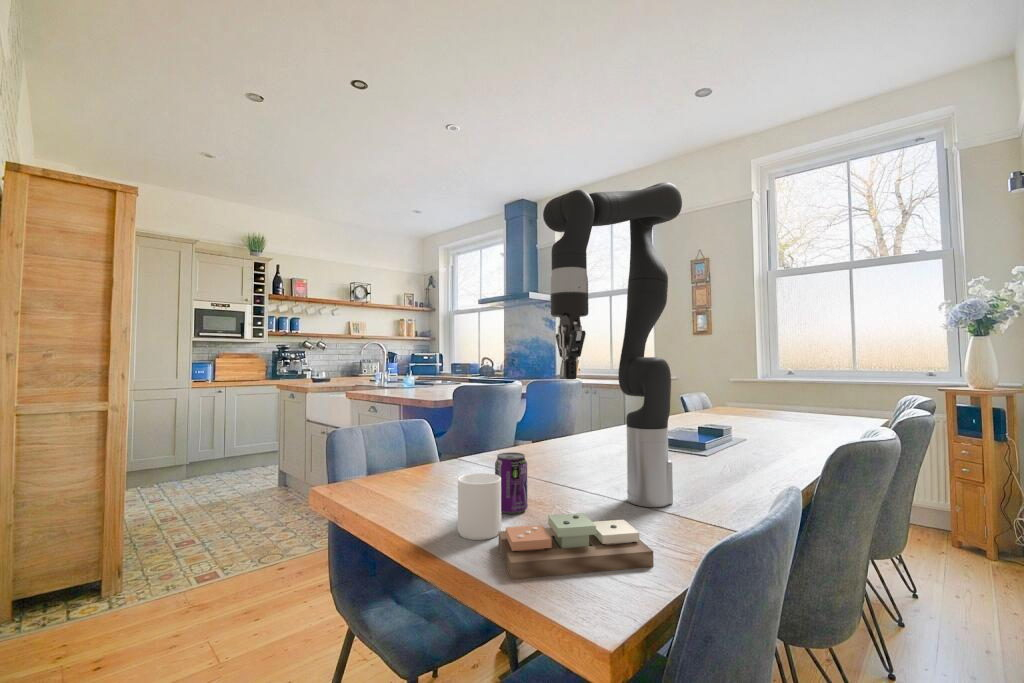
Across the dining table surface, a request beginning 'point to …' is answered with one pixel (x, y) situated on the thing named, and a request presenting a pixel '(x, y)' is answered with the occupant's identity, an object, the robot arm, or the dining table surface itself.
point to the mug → (479, 506)
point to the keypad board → (574, 558)
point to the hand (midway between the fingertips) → (570, 379)
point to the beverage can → (512, 481)
